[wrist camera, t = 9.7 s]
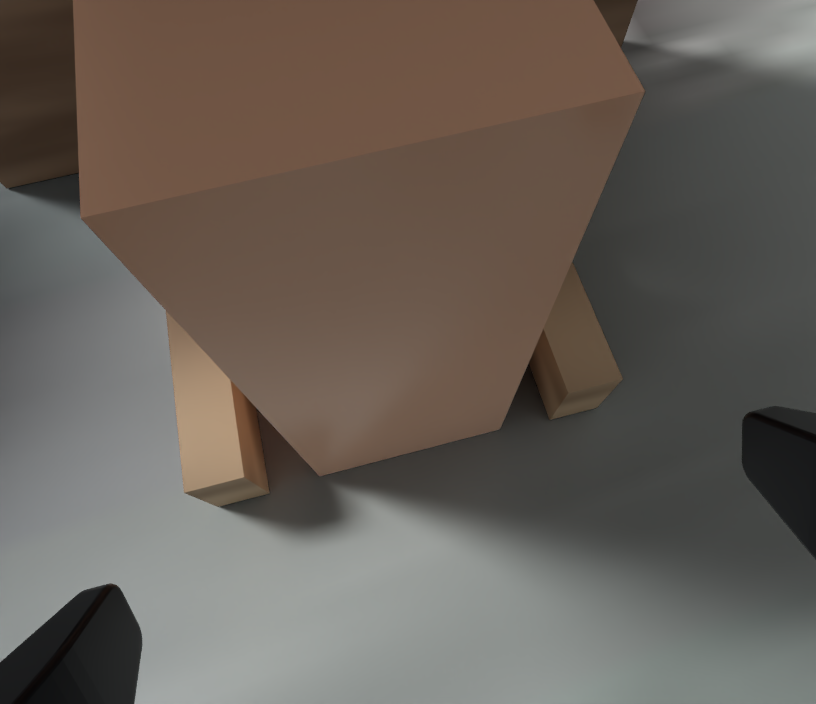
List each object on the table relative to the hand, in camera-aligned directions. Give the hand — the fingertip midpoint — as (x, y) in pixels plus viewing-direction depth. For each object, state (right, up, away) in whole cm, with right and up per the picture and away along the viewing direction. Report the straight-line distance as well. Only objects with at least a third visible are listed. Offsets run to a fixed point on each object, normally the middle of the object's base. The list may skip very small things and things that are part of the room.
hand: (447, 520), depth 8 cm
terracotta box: (-1, +2, +10) cm, 10 cm away
